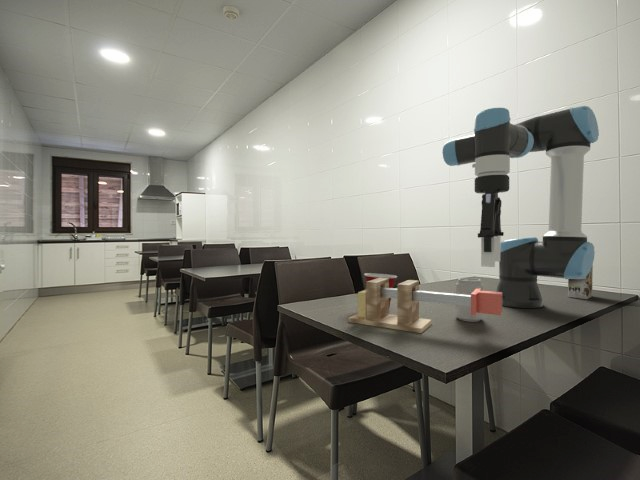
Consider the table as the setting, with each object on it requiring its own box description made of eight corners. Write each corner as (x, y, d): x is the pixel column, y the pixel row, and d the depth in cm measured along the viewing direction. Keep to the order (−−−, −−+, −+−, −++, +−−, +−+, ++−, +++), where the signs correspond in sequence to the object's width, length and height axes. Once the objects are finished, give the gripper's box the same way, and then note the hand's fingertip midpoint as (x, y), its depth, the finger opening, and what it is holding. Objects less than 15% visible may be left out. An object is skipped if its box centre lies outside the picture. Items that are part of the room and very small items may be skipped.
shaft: (503, 310, 86) (503, 290, 86) (500, 318, 78) (500, 296, 78) (386, 297, 103) (386, 281, 103) (373, 303, 95) (373, 285, 95)
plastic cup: (404, 311, 112) (404, 274, 112) (378, 315, 106) (378, 276, 106) (382, 304, 121) (382, 271, 121) (357, 308, 116) (357, 273, 116)
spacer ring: (376, 313, 104) (376, 289, 103) (365, 319, 97) (365, 293, 97) (368, 312, 105) (368, 288, 105) (358, 317, 99) (358, 292, 98)
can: (486, 323, 97) (486, 280, 96) (458, 322, 98) (458, 280, 98) (479, 316, 104) (479, 277, 104) (453, 315, 105) (453, 276, 105)
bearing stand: (431, 324, 96) (431, 281, 96) (421, 333, 88) (421, 286, 87) (363, 314, 107) (363, 276, 107) (348, 321, 99) (348, 280, 99)
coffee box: (588, 299, 128) (588, 256, 127) (567, 297, 133) (567, 255, 132) (593, 296, 134) (593, 255, 134) (572, 294, 139) (573, 254, 138)
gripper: (481, 182, 95) (481, 259, 96) (465, 170, 74) (465, 268, 75) (512, 180, 91) (512, 259, 92) (505, 166, 70) (504, 270, 71)
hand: (491, 263), depth 83 cm, fingers open, 13 cm apart
